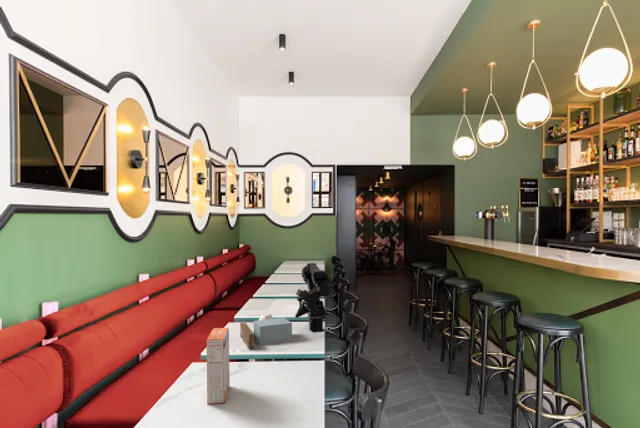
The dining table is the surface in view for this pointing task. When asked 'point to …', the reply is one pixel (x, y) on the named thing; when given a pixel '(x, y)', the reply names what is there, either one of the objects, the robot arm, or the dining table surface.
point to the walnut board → (247, 335)
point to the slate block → (272, 331)
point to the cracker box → (217, 365)
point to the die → (265, 316)
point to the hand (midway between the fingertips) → (295, 317)
